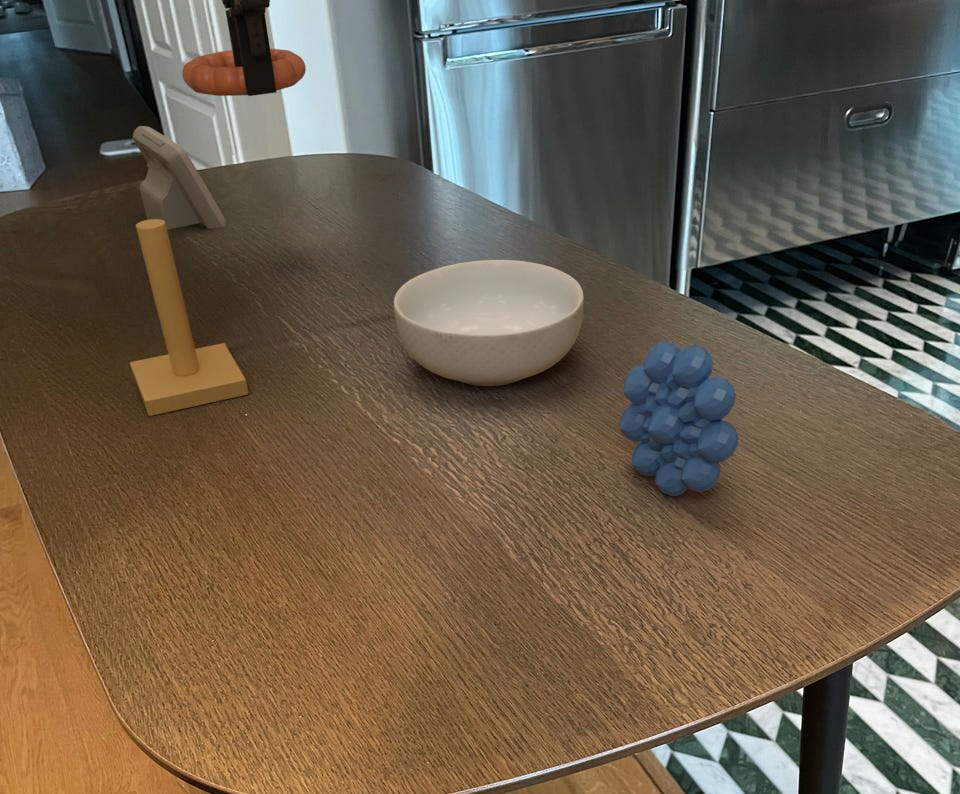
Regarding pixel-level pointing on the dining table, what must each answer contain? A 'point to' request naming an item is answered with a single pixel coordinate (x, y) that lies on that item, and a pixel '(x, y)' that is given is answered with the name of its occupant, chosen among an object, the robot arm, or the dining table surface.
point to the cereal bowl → (489, 320)
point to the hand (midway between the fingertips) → (257, 89)
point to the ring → (238, 73)
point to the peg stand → (179, 341)
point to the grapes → (678, 418)
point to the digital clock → (174, 184)
